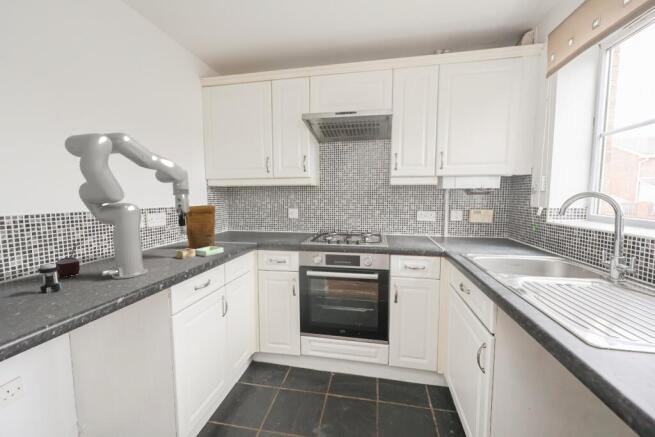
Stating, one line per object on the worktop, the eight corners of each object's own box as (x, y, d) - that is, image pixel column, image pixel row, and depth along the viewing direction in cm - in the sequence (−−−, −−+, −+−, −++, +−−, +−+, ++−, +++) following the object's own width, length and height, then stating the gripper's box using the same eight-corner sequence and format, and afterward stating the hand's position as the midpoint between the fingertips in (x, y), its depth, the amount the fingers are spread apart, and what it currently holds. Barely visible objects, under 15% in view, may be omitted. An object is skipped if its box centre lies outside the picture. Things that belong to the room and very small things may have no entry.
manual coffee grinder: (57, 277, 111) (53, 243, 109) (82, 272, 117) (78, 240, 115) (58, 280, 106) (54, 245, 105) (84, 275, 112) (80, 242, 111)
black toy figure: (31, 295, 89) (28, 268, 89) (42, 290, 94) (38, 264, 93) (56, 292, 92) (53, 265, 91) (65, 287, 97) (62, 262, 96)
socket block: (183, 258, 139) (183, 251, 138) (176, 257, 142) (175, 250, 142) (195, 256, 145) (195, 249, 144) (188, 254, 148) (187, 248, 148)
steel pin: (182, 233, 140) (181, 217, 139) (179, 233, 141) (178, 216, 141) (188, 233, 143) (187, 216, 142) (184, 232, 144) (183, 216, 143)
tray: (206, 256, 143) (206, 251, 143) (193, 254, 148) (193, 249, 148) (223, 252, 153) (223, 247, 153) (211, 250, 159) (210, 246, 158)
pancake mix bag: (217, 247, 168) (214, 205, 165) (184, 250, 161) (181, 206, 159) (218, 245, 174) (215, 205, 171) (187, 248, 168) (184, 206, 165)
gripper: (184, 192, 133) (187, 226, 135) (192, 192, 149) (194, 223, 151) (168, 192, 131) (171, 227, 133) (177, 193, 147) (179, 224, 148)
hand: (183, 225), depth 142 cm, fingers closed on steel pin, 3 cm apart
